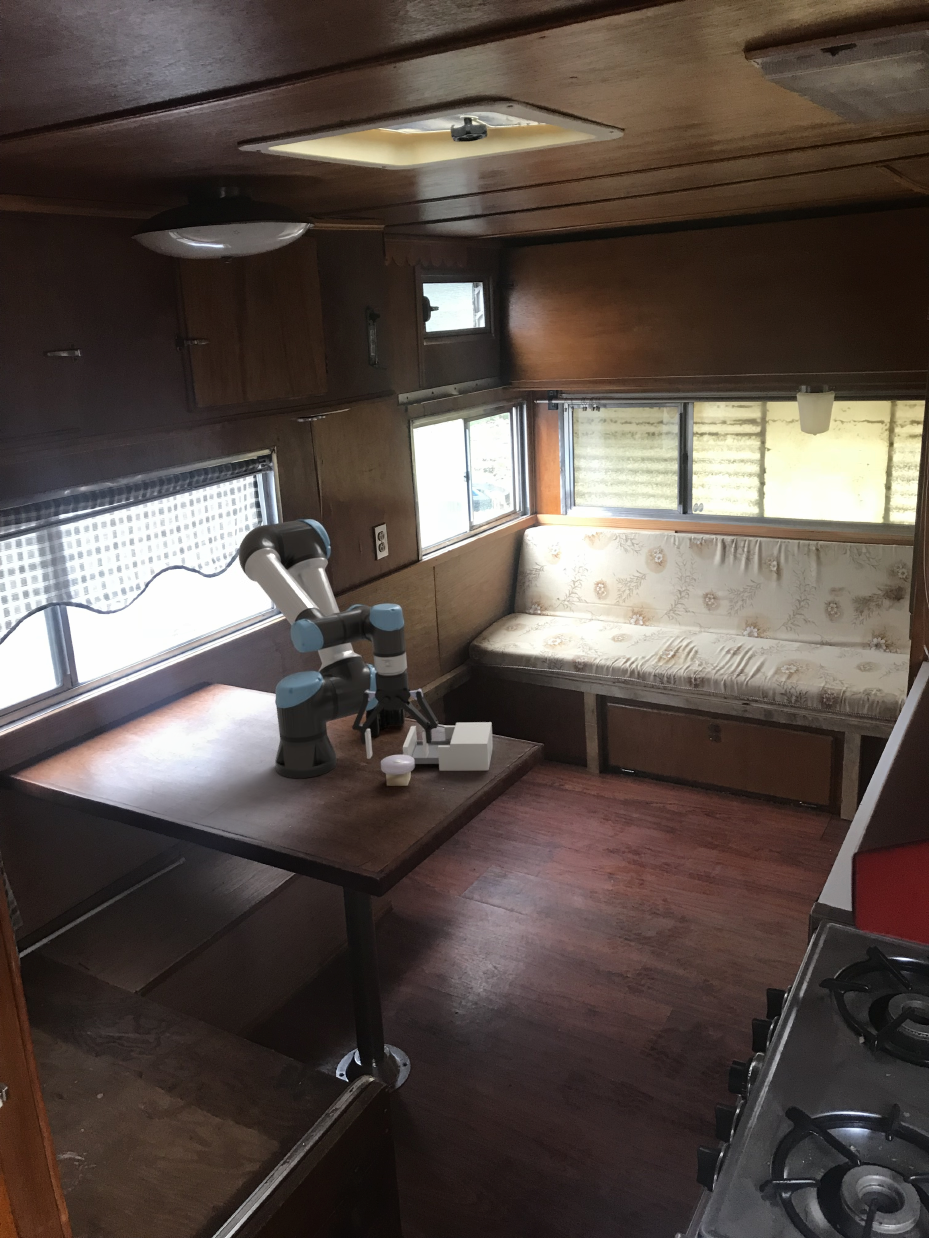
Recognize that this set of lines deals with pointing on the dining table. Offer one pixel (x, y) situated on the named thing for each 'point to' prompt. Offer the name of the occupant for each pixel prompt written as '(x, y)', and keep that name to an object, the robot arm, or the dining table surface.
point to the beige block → (398, 779)
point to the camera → (385, 719)
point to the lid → (397, 764)
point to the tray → (416, 748)
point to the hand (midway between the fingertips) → (397, 756)
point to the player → (466, 747)
